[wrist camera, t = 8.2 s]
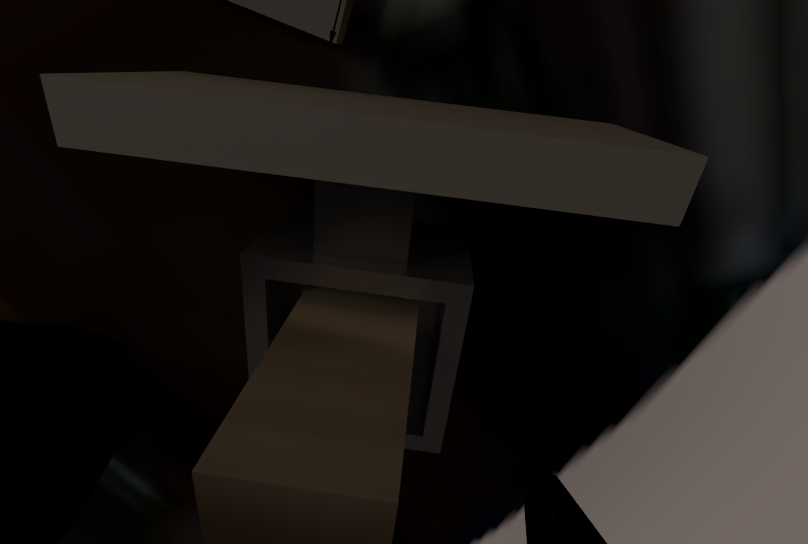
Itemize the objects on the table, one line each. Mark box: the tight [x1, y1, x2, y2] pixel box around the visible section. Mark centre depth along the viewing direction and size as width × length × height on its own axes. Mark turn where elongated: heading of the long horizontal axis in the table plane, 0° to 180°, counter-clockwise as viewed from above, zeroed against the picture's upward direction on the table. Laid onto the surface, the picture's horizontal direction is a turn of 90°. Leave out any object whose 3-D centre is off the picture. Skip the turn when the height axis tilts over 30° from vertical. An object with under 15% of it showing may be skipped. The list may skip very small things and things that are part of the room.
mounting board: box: [40, 71, 708, 227], centre depth 12 cm, size 2×14×6 cm, turn 84°
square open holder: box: [240, 180, 474, 453], centre depth 13 cm, size 8×6×4 cm
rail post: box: [192, 285, 420, 544], centre depth 11 cm, size 3×3×8 cm
